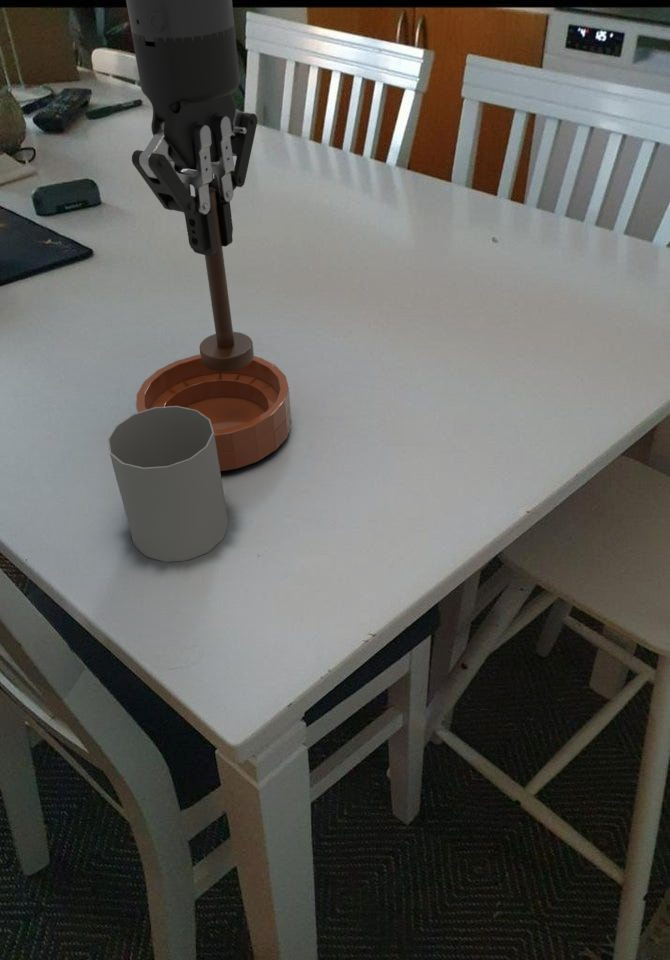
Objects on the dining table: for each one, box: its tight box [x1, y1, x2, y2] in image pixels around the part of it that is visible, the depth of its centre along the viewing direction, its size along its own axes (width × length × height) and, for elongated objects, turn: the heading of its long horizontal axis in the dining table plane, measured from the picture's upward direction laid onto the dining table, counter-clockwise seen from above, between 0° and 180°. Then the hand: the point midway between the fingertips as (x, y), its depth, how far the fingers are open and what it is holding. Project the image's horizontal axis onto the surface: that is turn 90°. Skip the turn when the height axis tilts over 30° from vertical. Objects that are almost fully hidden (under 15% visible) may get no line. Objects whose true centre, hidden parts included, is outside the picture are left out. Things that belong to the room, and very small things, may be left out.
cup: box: [107, 406, 230, 563], centre depth 68 cm, size 8×8×10 cm
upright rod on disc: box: [199, 187, 255, 372], centre depth 72 cm, size 5×5×16 cm
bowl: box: [135, 354, 292, 472], centre depth 80 cm, size 15×15×5 cm
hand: (212, 247), depth 70 cm, fingers closed on upright rod on disc
